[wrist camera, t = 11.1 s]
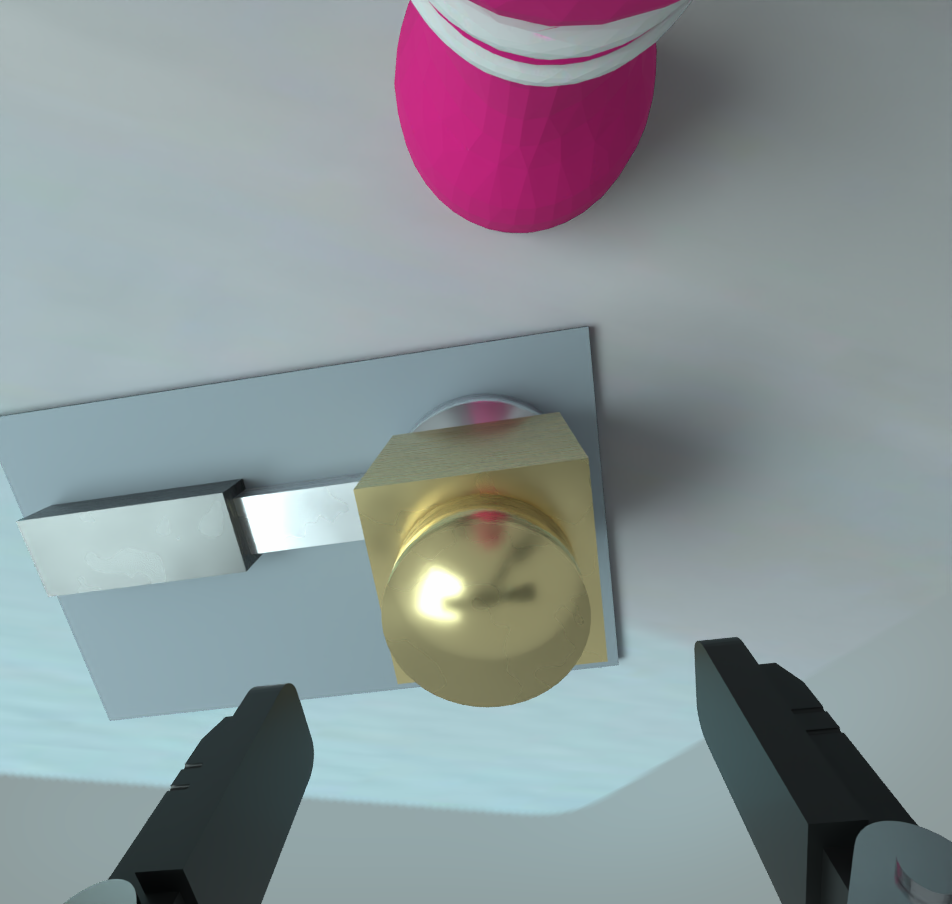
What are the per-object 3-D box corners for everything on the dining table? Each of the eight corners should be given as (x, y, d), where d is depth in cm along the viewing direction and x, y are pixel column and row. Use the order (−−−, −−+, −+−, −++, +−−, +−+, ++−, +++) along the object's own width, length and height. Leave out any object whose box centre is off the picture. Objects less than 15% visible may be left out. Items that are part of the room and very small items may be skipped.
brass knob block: (392, 435, 20) (331, 519, 12) (559, 411, 19) (604, 483, 12) (422, 582, 22) (384, 736, 14) (575, 563, 21) (624, 712, 13)
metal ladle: (32, 459, 23) (-108, 506, 17) (568, 380, 21) (594, 406, 16) (96, 616, 25) (-11, 701, 20) (586, 555, 23) (614, 630, 18)
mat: (-9, 417, 23) (-18, 419, 22) (586, 326, 21) (588, 326, 20) (115, 714, 27) (109, 720, 27) (616, 659, 25) (618, 664, 25)
